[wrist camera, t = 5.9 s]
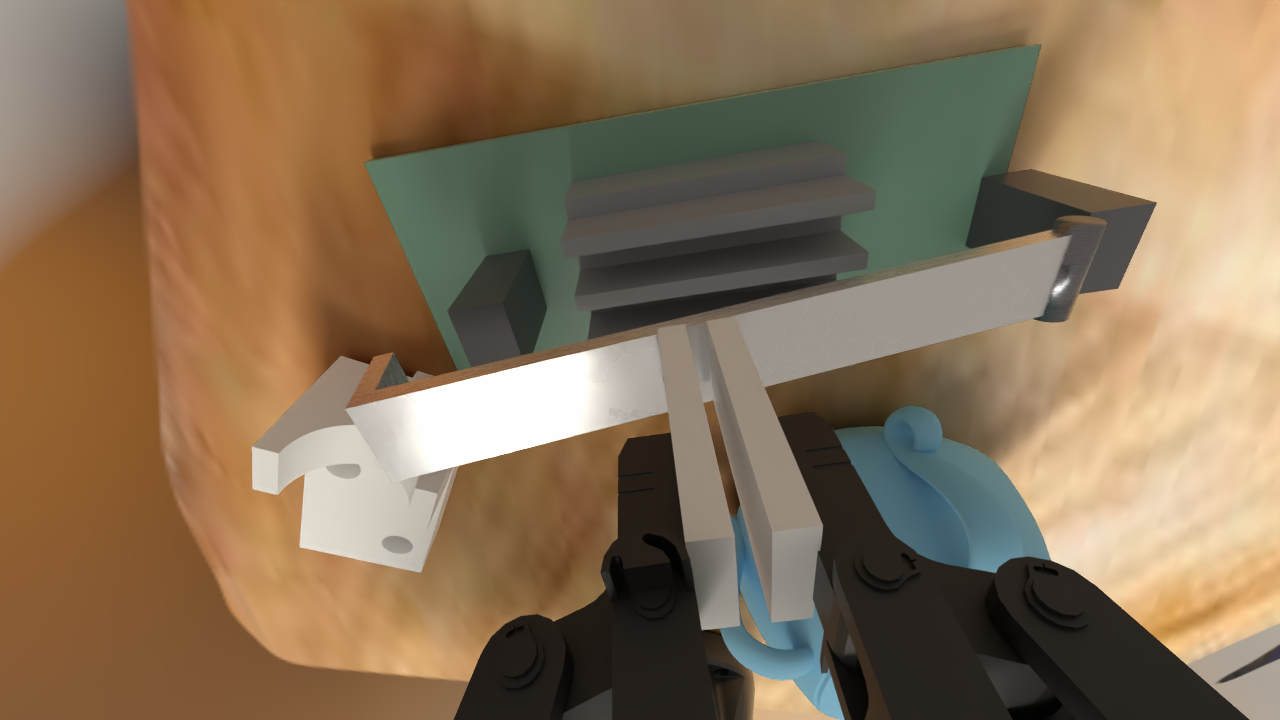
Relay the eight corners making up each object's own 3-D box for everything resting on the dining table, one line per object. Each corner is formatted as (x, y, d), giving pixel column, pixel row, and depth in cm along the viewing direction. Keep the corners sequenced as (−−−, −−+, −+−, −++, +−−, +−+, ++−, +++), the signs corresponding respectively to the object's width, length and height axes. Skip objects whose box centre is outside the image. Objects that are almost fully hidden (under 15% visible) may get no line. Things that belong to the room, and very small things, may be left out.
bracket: (350, 346, 24) (252, 446, 18) (484, 388, 26) (437, 493, 20) (331, 500, 31) (253, 614, 24) (439, 525, 32) (394, 639, 26)
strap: (1001, 284, 18) (1079, 317, 15) (414, 429, 16) (393, 494, 13) (1027, 200, 16) (1118, 222, 14) (370, 351, 14) (336, 410, 12)
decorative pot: (781, 583, 37) (851, 816, 26) (669, 473, 30) (699, 731, 18) (991, 500, 32) (1192, 742, 21) (920, 342, 25) (1174, 584, 13)
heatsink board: (975, 317, 24) (1072, 388, 19) (473, 388, 26) (434, 472, 20) (1052, 40, 17) (1235, 31, 12) (373, 158, 19) (278, 195, 14)
